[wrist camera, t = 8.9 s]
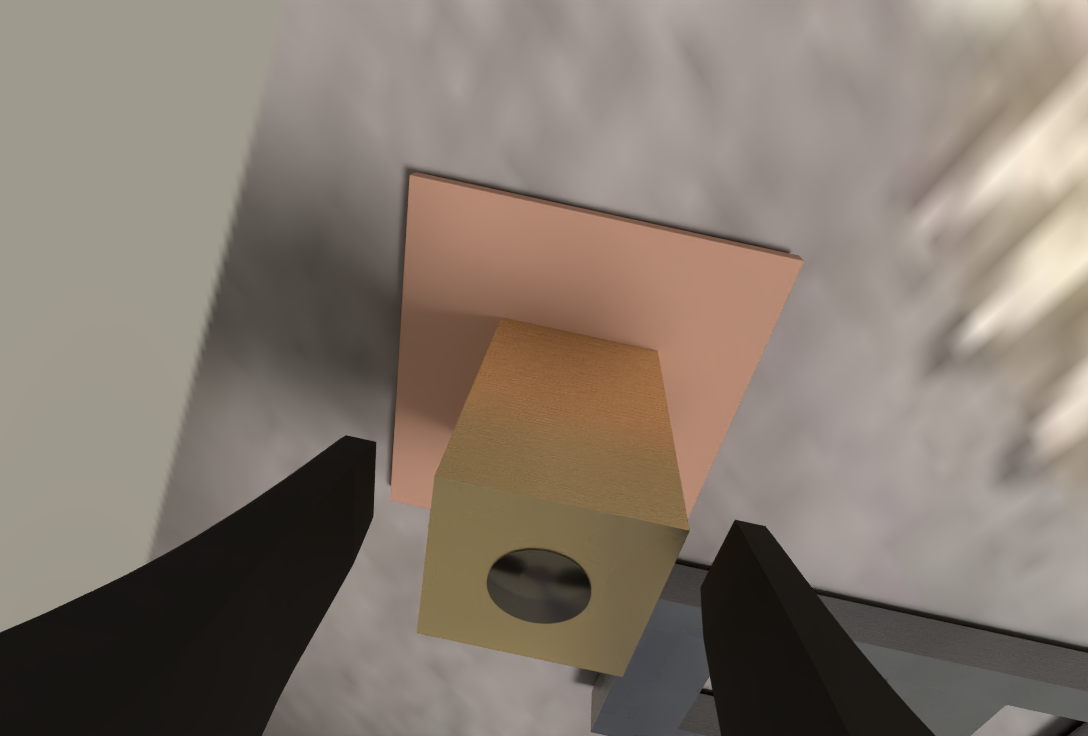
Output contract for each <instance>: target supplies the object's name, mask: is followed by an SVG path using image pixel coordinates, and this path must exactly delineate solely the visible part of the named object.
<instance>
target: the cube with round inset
mask: <svg viewBox="0 0 1088 736" xmlns="http://www.w3.org/2000/svg"><path fill="white" fill-rule="evenodd" d="M689 531H690V530H689V524H688V518H687V513H686V507H685V501H684V496H683V490H682V484H681V479H680V473H679V467H678V462H677V456H676V450H675V445H674V439H673V433H672V428H671V422H670V416H669V411H668V405H667V399H666V394H665V388H664V383H663V377H662V371H661V366H660V360H659V354H658V351H656V350H652V349H647V348H642V347H638V346H633V345H629V344H624V343H619V342H615V341H610V340H605V339H601V338H596V337H591V336H587V335H582V334H578V333H573V332H568V331H564V330H559V329H554V328H550V327H545V326H540V325H536V324H531V323H527V322H522V321H517V320H513V319H508V318H503V317H501V320H500V322H499V324H498V327H497V329H496V331H495V334H494V336H493V339H492V341H491V343H490V346H489V348H488V350H487V353H486V355H485V357H484V360H483V362H482V364H481V367H480V369H479V372H478V374H477V376H476V379H475V381H474V383H473V386H472V388H471V390H470V393H469V395H468V398H467V400H466V402H465V405H464V407H463V409H462V412H461V414H460V416H459V419H458V421H457V424H456V426H455V428H454V431H453V433H452V435H451V438H450V440H449V442H448V445H447V447H446V450H445V452H444V454H443V457H442V459H441V461H440V464H439V466H438V468H437V471H436V473H435V476H434V484H433V493H432V502H431V511H430V520H429V529H428V538H427V547H426V556H425V566H424V575H423V584H422V593H421V602H420V611H419V620H418V629H417V633H419V634H424V635H428V636H433V637H438V638H442V639H447V640H452V641H456V642H461V643H466V644H470V645H475V646H480V647H484V648H489V649H494V650H498V651H503V652H508V653H512V654H517V655H522V656H526V657H531V658H536V659H540V660H545V661H550V662H554V663H559V664H564V665H568V666H573V667H578V668H582V669H587V670H592V671H596V672H601V673H606V674H610V675H615V676H620V677H623V675H624V673H625V671H626V669H627V667H628V664H629V662H630V660H631V658H632V656H633V653H634V651H635V649H636V647H637V645H638V642H639V640H640V638H641V636H642V634H643V632H644V629H645V627H646V625H647V623H648V621H649V618H650V616H651V614H652V612H653V610H654V608H655V605H656V603H657V601H658V599H659V597H660V594H661V592H662V590H663V588H664V586H665V583H666V581H667V579H668V577H669V575H670V573H671V570H672V568H673V566H674V564H675V562H676V559H677V557H678V555H679V553H680V551H681V549H682V546H683V544H684V542H685V540H686V538H687V535H688V533H689Z"/></svg>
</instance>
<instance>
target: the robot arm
mask: <svg viewBox="0 0 1088 736" xmlns="http://www.w3.org/2000/svg"><path fill="white" fill-rule="evenodd" d="M375 462H376V442H374V441H370V440H365V439H360V438H356V437H351V436H347V435H346V436H344V437H342V438H341V439H339V440H338V441H337V442H335V443H334V444H332V445H331V446H330V447H328V448H327V449H326V450H324V451H323V452H321V453H320V454H319V455H317V456H316V457H315V458H313V459H312V460H310V461H309V462H308V463H306V464H305V465H304V466H302V467H301V468H299V469H298V470H297V471H295V472H294V473H292V474H291V475H290V476H288V477H287V478H285V479H284V480H282V481H281V482H280V483H278V484H277V485H275V486H274V487H272V488H271V489H269V490H268V491H266V492H265V493H263V494H262V495H261V496H259V497H258V498H256V499H255V500H253V501H252V502H250V503H249V504H247V505H246V506H244V507H243V508H241V509H239V510H238V511H236V512H235V513H233V514H231V515H230V516H228V517H227V518H225V519H223V520H222V521H220V522H219V523H217V524H215V525H214V526H212V527H210V528H209V529H207V530H206V531H204V532H202V533H201V534H199V535H197V536H196V537H194V538H192V539H191V540H189V541H187V542H185V543H184V544H182V545H180V546H179V547H177V548H175V549H173V550H171V551H170V552H168V553H166V554H164V555H162V556H161V557H159V558H157V559H155V560H153V561H151V562H149V563H148V564H146V565H144V566H142V567H140V568H138V569H137V570H134V571H133V572H131V573H129V574H127V575H125V576H123V577H121V578H119V579H117V580H115V581H112V582H110V583H108V584H106V585H104V586H102V587H100V588H98V589H96V590H94V591H92V592H89V593H87V594H85V595H83V596H81V597H79V598H77V599H74V600H72V601H70V602H68V603H66V604H64V605H62V606H60V607H58V608H55V609H53V610H51V611H49V612H47V613H45V614H42V615H40V616H38V617H36V618H33V619H31V620H29V621H26V622H24V623H21V624H19V625H17V626H14V627H12V628H10V629H8V630H5V631H3V632H1V633H0V736H262V734H263V732H264V729H265V727H266V725H267V723H268V721H269V719H270V716H271V714H272V712H273V710H274V708H275V705H276V703H277V701H278V699H279V697H280V695H281V693H282V691H283V689H284V687H285V685H286V683H287V682H288V680H289V678H290V676H291V674H292V672H293V670H294V668H295V667H296V665H297V663H298V661H299V660H300V658H301V656H302V654H303V653H304V651H305V649H306V647H307V645H308V644H309V642H310V640H311V638H312V637H313V635H314V633H315V631H316V630H317V628H318V626H319V624H320V623H321V621H322V619H323V617H324V616H325V614H326V612H327V610H328V608H329V607H330V605H331V603H332V601H333V600H334V598H335V596H336V594H337V593H338V591H339V589H340V587H341V585H342V584H343V582H344V580H345V578H346V576H347V575H348V573H349V571H350V569H351V567H352V566H353V564H354V561H355V559H356V557H357V554H358V552H359V550H360V548H361V545H362V543H363V541H364V538H365V536H366V533H367V531H368V528H369V526H370V523H371V521H372V519H373V513H374V487H375ZM700 590H701V612H702V627H703V640H704V645H705V651H706V657H707V663H708V668H709V674H710V679H711V685H712V690H713V695H714V701H715V706H716V711H717V717H718V722H719V727H720V733H721V736H936V735H935V734H934V733H933V732H932V731H931V730H930V729H929V728H928V727H927V726H926V725H925V724H924V723H923V722H922V721H921V720H920V718H919V717H918V716H917V715H916V714H915V713H914V712H913V711H912V710H911V709H910V708H909V706H908V705H907V704H906V703H905V702H904V701H903V700H902V699H901V697H900V696H899V695H898V694H897V693H896V692H895V691H894V690H893V688H892V687H891V686H890V685H889V684H888V682H887V681H886V680H885V679H884V678H883V676H882V675H881V674H880V673H879V672H878V671H877V669H876V668H875V667H874V666H873V665H872V663H871V662H870V661H869V660H868V659H867V658H866V656H865V655H864V654H863V653H862V651H861V650H860V649H859V648H858V647H857V645H856V644H855V643H854V642H853V640H852V639H851V638H850V637H849V635H848V634H847V633H846V632H845V630H844V629H843V628H842V627H841V625H840V624H839V623H838V621H837V620H836V619H835V618H834V616H833V615H832V614H831V612H830V611H829V610H828V608H827V607H826V606H825V605H824V603H823V602H822V601H821V599H820V598H819V597H818V595H817V594H816V593H815V591H814V590H813V589H812V587H811V586H810V585H809V583H808V582H807V581H806V579H805V578H804V577H803V575H802V574H801V573H800V571H799V570H798V569H797V567H796V566H795V565H794V563H793V562H792V560H791V559H790V558H789V556H788V555H787V554H786V552H785V551H784V550H783V548H782V547H781V546H780V544H779V543H778V542H777V540H776V539H775V538H774V537H773V535H772V534H771V533H770V531H769V530H768V529H767V528H766V526H762V525H757V524H753V523H748V522H743V521H739V520H735V521H734V523H733V525H732V527H731V528H730V530H729V532H728V534H727V536H726V538H725V540H724V542H723V544H722V546H721V548H720V550H719V552H718V554H717V556H716V558H715V560H714V562H713V564H712V566H711V567H710V569H709V571H708V573H707V575H706V577H705V579H704V581H703V583H702V585H701V587H700Z"/></svg>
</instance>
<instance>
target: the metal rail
mask: <svg viewBox="0 0 1088 736" xmlns="http://www.w3.org/2000/svg"><path fill="white" fill-rule="evenodd" d="M707 573H708V571H706V570H702V569H697V568H693V567H688V566H683V565H679V564H674V566H673V568H672V570H671V573H670V575H669V577H668V579H667V581H666V583H665V586H664V588H663V590H662V592H661V594H660V597H659V599H658V601H657V603H656V605H655V608H654V610H653V612H652V614H651V616H650V618H649V621H648V623H647V625H646V627H645V629H644V632H643V634H642V636H641V638H640V640H639V642H638V645H637V647H636V649H635V651H634V653H633V656H632V658H631V660H630V662H629V664H628V667H627V669H626V671H625V673H624V675H623V677H620V676H615V675H610V674H606V673H601V672H600V674H599V676H598V678H597V681H596V683H595V686H594V688H593V690H592V707H591V732H593V733H598V734H603V735H607V736H721V733H720V727H719V722H718V717H717V711H716V706H715V701H714V696H709V695H704V694H700V691H701V689H702V688H703V686H704V684H705V683H706V681H707V679H708V678H709V676H710V674H709V668H708V663H707V657H706V651H705V645H704V640H703V627H702V612H701V590H700V587H701V585H702V583H703V581H704V579H705V577H706V575H707ZM818 597H819V598H820V599H821V601H822V602H823V603H824V605H825V606H826V607H827V608H828V610H829V611H830V612H831V614H832V615H833V616H834V618H835V619H836V620H837V621H838V623H839V624H840V625H841V627H842V628H843V629H844V630H845V632H846V633H847V634H848V635H849V637H850V638H851V639H852V640H853V642H854V643H855V644H856V645H857V647H858V648H859V649H860V650H861V651H862V653H863V654H864V655H865V656H866V658H867V659H868V660H869V661H870V662H871V663H872V665H873V666H874V667H875V668H876V669H877V671H878V672H879V673H880V674H881V675H882V676H883V678H884V679H885V680H886V681H887V682H888V684H889V685H890V686H891V687H892V688H893V690H894V691H895V692H896V693H897V694H898V695H899V696H900V697H901V699H902V700H903V701H904V702H905V703H906V704H907V705H908V706H909V708H910V709H911V710H912V711H913V712H914V713H915V714H916V715H917V716H918V717H919V718H920V720H921V721H922V722H923V723H924V724H925V725H926V726H927V727H928V728H929V729H930V730H931V731H932V732H933V733H934V734H935V735H936V736H971V735H972V734H973V733H974V732H975V731H976V730H978V729H979V728H980V727H981V726H982V725H983V724H984V723H986V722H987V721H988V720H989V719H990V718H991V717H992V716H994V715H995V714H996V713H997V712H998V711H999V710H1000V709H1002V708H1003V707H1004V706H1005V705H1010V706H1015V707H1019V708H1024V709H1029V710H1033V711H1038V712H1043V713H1047V714H1052V715H1056V716H1061V717H1066V718H1070V719H1075V720H1080V721H1084V722H1085V723H1084V724H1082V725H1081V726H1080V727H1078V728H1077V729H1076V730H1074V731H1073V732H1072V733H1070V734H1069V735H1068V736H1088V653H1086V652H1081V651H1076V650H1072V649H1067V648H1063V647H1058V646H1053V645H1049V644H1044V643H1039V642H1035V641H1030V640H1026V639H1021V638H1016V637H1012V636H1007V635H1002V634H998V633H993V632H989V631H984V630H979V629H975V628H970V627H965V626H961V625H956V624H952V623H947V622H942V621H938V620H933V619H928V618H924V617H919V616H915V615H910V614H905V613H901V612H896V611H891V610H887V609H882V608H878V607H873V606H868V605H864V604H859V603H854V602H850V601H845V600H841V599H836V598H831V597H827V596H822V595H818Z"/></svg>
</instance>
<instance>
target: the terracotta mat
mask: <svg viewBox="0 0 1088 736" xmlns="http://www.w3.org/2000/svg"><path fill="white" fill-rule="evenodd" d="M803 262H804V260H803V259H802V258H801V257H800V256H798V255H794V254H789V253H784V252H780V251H775V250H771V249H766V248H762V247H757V246H752V245H748V244H743V243H739V242H734V241H729V240H725V239H720V238H716V237H711V236H707V235H702V234H697V233H693V232H688V231H684V230H679V229H675V228H670V227H665V226H661V225H656V224H652V223H647V222H642V221H638V220H633V219H629V218H624V217H620V216H615V215H610V214H606V213H601V212H597V211H592V210H588V209H583V208H578V207H574V206H569V205H565V204H560V203H555V202H551V201H546V200H542V199H537V198H533V197H528V196H523V195H519V194H514V193H510V192H505V191H500V190H496V189H491V188H487V187H482V186H478V185H473V184H468V183H464V182H459V181H455V180H450V179H446V178H441V177H436V176H432V175H427V174H423V173H418V172H414V173H412V174H411V175H410V179H409V195H408V212H407V229H406V245H405V262H404V279H403V296H402V312H401V329H400V346H399V363H398V379H397V396H396V413H395V429H394V446H393V463H392V480H391V496H390V500H391V501H395V502H400V503H405V504H409V505H414V506H418V507H423V508H428V509H431V502H432V493H433V484H434V476H435V473H436V471H437V468H438V466H439V464H440V461H441V459H442V457H443V454H444V452H445V450H446V447H447V445H448V442H449V440H450V438H451V435H452V433H453V431H454V428H455V426H456V424H457V421H458V419H459V416H460V414H461V412H462V409H463V407H464V405H465V402H466V400H467V398H468V395H469V393H470V390H471V388H472V386H473V383H474V381H475V379H476V376H477V374H478V372H479V369H480V367H481V364H482V362H483V360H484V357H485V355H486V353H487V350H488V348H489V346H490V343H491V341H492V339H493V336H494V334H495V331H496V329H497V327H498V324H499V322H500V320H501V317H503V318H508V319H513V320H517V321H522V322H527V323H531V324H536V325H540V326H545V327H550V328H554V329H559V330H564V331H568V332H573V333H578V334H582V335H587V336H591V337H596V338H601V339H605V340H610V341H615V342H619V343H624V344H629V345H633V346H638V347H642V348H647V349H652V350H656V351H658V354H659V360H660V366H661V371H662V377H663V383H664V388H665V394H666V399H667V405H668V411H669V416H670V422H671V428H672V433H673V439H674V445H675V450H676V456H677V462H678V467H679V473H680V479H681V484H682V490H683V496H684V501H685V507H686V513H687V518H688V517H689V515H690V513H691V511H692V509H693V506H694V504H695V502H696V500H697V497H698V495H699V493H700V491H701V489H702V486H703V484H704V482H705V480H706V477H707V475H708V473H709V471H710V469H711V466H712V464H713V462H714V460H715V458H716V455H717V453H718V451H719V449H720V446H721V444H722V442H723V440H724V438H725V435H726V433H727V431H728V429H729V427H730V424H731V422H732V420H733V418H734V415H735V413H736V411H737V409H738V407H739V404H740V402H741V400H742V398H743V395H744V393H745V391H746V389H747V387H748V384H749V382H750V380H751V378H752V376H753V373H754V371H755V369H756V367H757V364H758V362H759V360H760V358H761V356H762V353H763V351H764V349H765V347H766V345H767V342H768V340H769V338H770V336H771V333H772V331H773V329H774V327H775V325H776V322H777V320H778V318H779V316H780V313H781V311H782V309H783V307H784V305H785V302H786V300H787V298H788V296H789V294H790V291H791V289H792V287H793V285H794V282H795V280H796V278H797V276H798V274H799V271H800V269H801V267H802V265H803Z"/></svg>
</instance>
